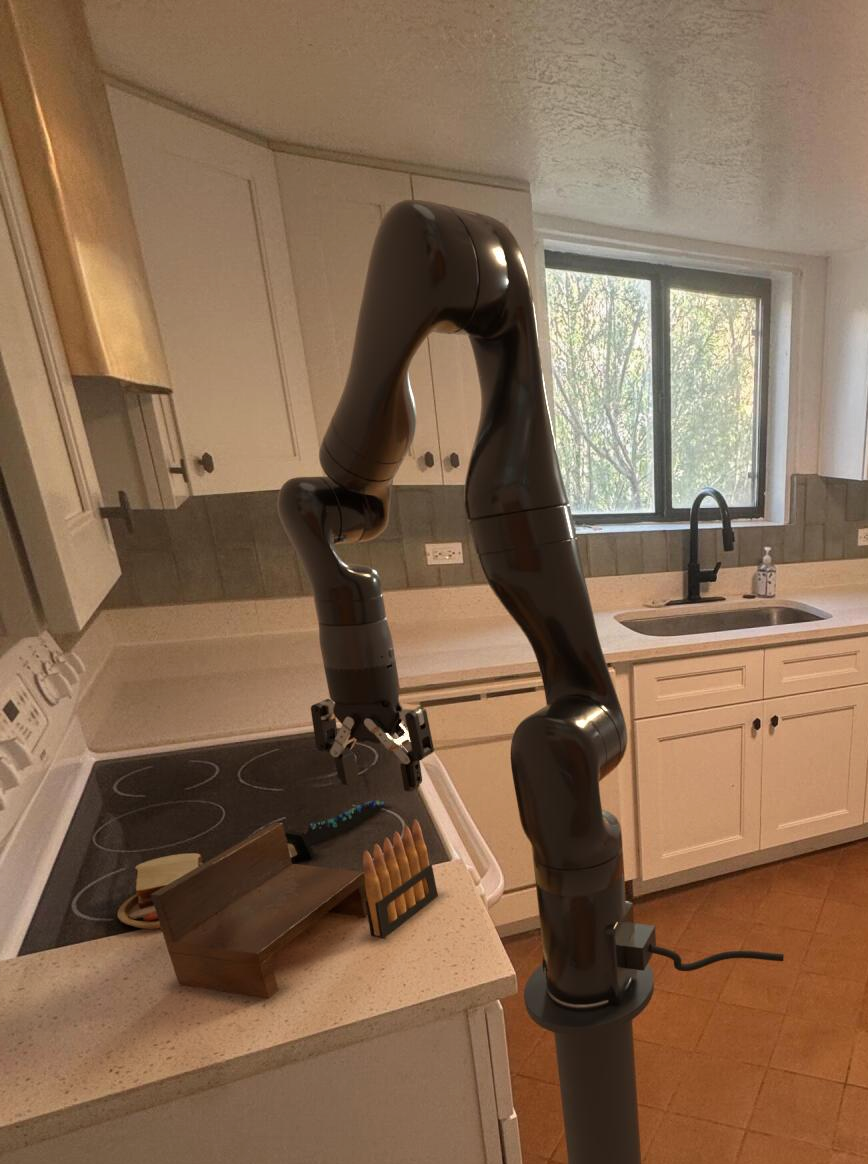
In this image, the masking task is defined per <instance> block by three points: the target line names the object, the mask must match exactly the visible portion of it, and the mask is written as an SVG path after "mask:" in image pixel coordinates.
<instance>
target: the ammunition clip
mask: <svg viewBox="0 0 868 1164" xmlns="http://www.w3.org/2000/svg"><path fill="white" fill-rule="evenodd" d="M402 831H403V832H402V836H401V835H400V833H399V832H398V831H394V833H393V840H392V841H393V845H392V842H391V840H390V839H389V837H384V841H383V851H382V849H381V846H380V845H379V844H378V843H375V844H374V846H373V858H372V856H371V854H370V852H369V850H367V849H365V850H364V851H363V855H362V866H363V872H364V875H365V888H366V894H367V900H366V901H365V903H366V909H367V920H368V921H367V922H368V927H369V932H370V933H369V934H370V937H374V938H379V939H385V938H387V937H388V936H389V935H391V934H392V933H393V932H395V930H397V929H398V928H399V927H400V926H402V925H404V923H405V922H407V921H409V920H410V919H411V918H412V917H414V916H415V915H416V914H417V913H419V912H420V911H421V910H423V908H425V907H426V906H427V905H429V904H430V903H432V902H433V901H434V900H435V899H436V898H438V897H439V894H438V888H437V884H436V878H435V872H434V869H433V864H432V863H430V860H429V856H428V855H429V854H428V849H427V846H426V843H425V839H424V836H423V831H422V828H421V825H420V823H419V821H418V820H417V818H415V819H414V820H413V822H412V831H411V829H410V827H409V826H408V825H407V824H405V825H404V827H403V830H402Z"/></svg>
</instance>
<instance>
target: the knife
mask: <svg viewBox="0 0 868 1164" xmlns="http://www.w3.org/2000/svg"><path fill="white" fill-rule="evenodd" d="M386 804H387V802H386V801H385V800H381V799H380V800H379V799H375V800H369V801H366V802H363V803H361V804H358V805H356V806H354V807H352V808H351V809H348V810H347V811H345V812H343V813H341V814H339V815H336V816H335V817H332V818H330V819H326V820H324V821H318V822H309V823H308V829H307V831H306V833H304V832H301V831H294V830H288V831H285V836H286V840H287V844H288V849H289V853H290V857H291V859H292V858H294V857H296V858H302V859H309V860H312V858H314V856H315V854H314V852H313V849H312V847H314V846H317V845H319V844H321V843H323V842H327V841H328V840H330V839H332V838H334V837H337V836H339V835H340V834H342V833H344V832H346V831H348V830H350V829H352V828H354V827H357V825H360V824H361V823H363V822H364V821H366V820H368V819H370V818H371V817H372V816H374V815H376V814H377V813H378V812H379V811H381V810H382V809H383V808H384V807H385V806H386Z"/></svg>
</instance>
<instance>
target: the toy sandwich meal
mask: <svg viewBox="0 0 868 1164" xmlns="http://www.w3.org/2000/svg"><path fill="white" fill-rule="evenodd" d="M202 861H203V859H202V855H201V854H200V853H198V852H197V853H195V852H193V853H191V852H190V853H178V854H171V855H166V856H162V857H161V856H160V857H157V858H153V859H150V860H147V861H144V862H142V863H139V864H137V865H136V866H135V867H134V869H135V873H136V879H135V880H134V885H135V894H134V895H132V896H130V897H129V898H128V899H127V900H126V899H125V901H124V902H123V903H122V904H121V905H120V907H119V908H118V909H117V910H118V911H117V918H118V920H119V921H120V922H121V923H123V924H125V925H127V926H133V927H134V928H138V929H144V930H145V929H146V930H147V929H150V930H151V929H161V926H160V923H159V920H158V916H157V913H156V910H155V907H154V904H153V900H152V897H151V894H152V893H154V892H156V891H157V890H159V889H161V888H163V887H164V886H166V885H168V884H170V883H171V882H173V881H175V880H176V879H178V878H180V877H182V876H183V875H185V874H187V873H188V872H190V871H192V870H194V869H195V868H197V867H199V866H201V863H202Z"/></svg>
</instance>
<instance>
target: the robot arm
mask: <svg viewBox="0 0 868 1164" xmlns="http://www.w3.org/2000/svg"><path fill="white" fill-rule="evenodd" d="M359 307H360V308H359V310H358V311H359V312H358V317H357V318H358V319H357V323H356V324H357V325H356V330H355V334H354V335H355V336H354V341H353V347H352V353H351V359H350V363H349V369H348V372H347V375H346V379H345V380H346V381H345V384H344V387H343V389H342V392H341V394H340V397H339V401H338V403H337V405H336V408H335V410H334V412H333V415H332V416H331V419H330V422H329V424H328V426H327V428H326V431H325V433H324V436H323V438H322V441H321V443H320V447H319V452H318V458H319V459H318V460H319V464H320V467H321V469H322V471H323V472H324V474H325V475H326V476H298V477H292V478H289V479H288V480H286V481H285V482H284V483H283V484H282V486H281V487H280V489H279V492H278V495H277V502H276V507H277V514H278V517H279V521H280V523H281V526H282V528H283V531H284V532H285V534H286V536H287V538H288V540H289V542H290V543H291V545H292V547H293V549H294V552H295V553H296V555H297V558H298V559H299V562H300V564H301V566H302V568H303V570H304V572H305V575H306V578H307V580H308V582H309V585H310V588H311V590H312V596H313V602H314V607H315V613H316V618H317V621H318V623H317V624H318V637H319V638H318V639H319V647H320V652H321V657H322V663H323V668H324V674H325V679H326V683H327V685H326V686H327V690H328V695H329V698H326V699H324V700H321V701H319V702H316V703H314V704H312V705H311V706H310V714H311V720H312V726H313V733H314V734H313V735H314V741H315V748H316V750H318V751H319V752H324V751H325V752H328V753H330V755H331V756H332V757H333V758H334V763H335V768H336V774H337V777H338V779H339V780H340V782H341V784H342V785H344V786H350V785H353V784H354V783H356V782H357V781H358V780H359V772H358V767H357V762H356V761H357V760H356V757H355V755H356V754H355V752H354V751H351V750H353V748H354V746H355V745H356V743H357V742H360V743H365V742H371V743H373V744H382V745H383V746H384V747H385V749H386V750H387V751H391V752H392V753H394V755H395V756H396V757H397V758H398V760H399V761H400V762H401V763H400V764H399V766H400V773H401V778H402V779H401V780H402V784H403V790H404V792H409V793H412V792H413V791H415V790H417V789H418V788H419V787H420V785H421V784H422V782H423V775H422V768H421V762H420V761H422V760H424V759H425V758H426V757H428V756H429V755H432V754H433V753H434V752H435V747H434V742H433V738H432V733H431V728H430V727H431V726H430V723H429V718H428V713H427V712H428V711H427V709H426V708H425V707H423V706H418V707H416V708H414V709H413V708H412V709H409V708H408V709H406V708H403V707H402V705H401V704H400V703H401V702H400V699H399V698H400V693H401V687H400V680H399V674H398V667H397V661H396V655H395V647H394V642H393V636H392V632H391V628H390V626H389V623H388V619H387V618H388V617H387V613H386V606H385V600H384V599H385V598H384V594H383V586H382V581H381V577H380V575H379V573H378V571H377V570H376V569H374V568H373V567H371V566H369V565H364V564H357V563H346V562H343V560H342V559H341V558H340V557H339V555H338V554H337V552H336V551H335V548H334V545H342V544H353V543H354V544H355V543H363V542H368V541H372V540H374V539H376V538H377V537H379V536H380V535H382V533H383V532H384V531H385V530H386V529H387V527H388V524H389V521H390V513H391V512H390V511H391V499H392V492H393V485H394V478H395V476H396V475H397V473H398V471H399V469H400V468H401V466H402V463H404V460H405V458H406V456H407V455H408V452H409V450H410V448H411V446H412V444H413V442H414V438H415V434H416V429H417V422H418V421H417V420H418V418H417V408H416V403H415V397H414V394H413V391H412V386H411V382H410V373H409V372H410V367H411V364H412V361H413V359H414V357H415V355H416V353H417V352H418V351H419V349H420V347H421V346H422V344H423V343H424V341H425V340H426V339H427V338H428V337H429V336H430V335H431V334H432V333H439V334H448V335H457V336H467V337H468V339H469V343H470V345H471V349H472V353H473V357H474V361H475V366H476V371H477V377H478V378H477V379H478V383H479V388H480V389H479V390H480V415H479V421H478V427H477V430H476V434H475V438H474V442H473V446H472V449H471V452H470V457H469V461H468V466H467V471H466V475H465V480H464V487H463V488H464V489H463V502H464V503H463V504H464V509H465V514H466V518H467V522H468V527H469V530H470V534H471V538H472V542H473V546H474V550H475V554H476V557H477V560H478V563H479V566H480V569H481V572H482V575H483V577H484V579H485V581H486V583H487V585H488V586H489V588H490V589H491V591H492V592H493V594H494V595H495V597H496V598H497V600H498V601H499V603H500V604H501V605H502V606H503V608H504V609H505V611H506V612H507V613H508V615H510V617H511V618H512V620H513V621H514V622H515V624H516V625H517V626H518V627H519V629H520V631H521V632H522V633H523V635H524V636H525V637H526V639H527V641H528V643H529V644H530V647H531V649H532V651H533V653H534V656H535V659H536V662H537V665H538V669H539V672H540V673H539V674H540V676H541V681H542V686H543V692H544V696H545V697H544V698H545V703H546V704H545V706H543V707H542V708H540V709H538V710H537V711H535V712H533V713H531V714H530V715H528V716H527V717H525V718H524V719H522V720H521V722H519V724H517V726H516V728H515V729H514V732H513V734H512V737H511V743H510V766H511V774H512V781H513V786H514V792H515V798H516V803H517V804H516V805H517V809H518V816H519V821H520V824H521V827H522V830H523V833H524V834H525V836H526V838H527V840H528V841H529V843H530V846H531V852H532V863H533V870H534V871H533V872H534V879H535V880H534V881H535V890H536V898H537V908H538V917H539V925H540V934H541V942H542V943H541V944H542V953H543V956H542V964H543V972H544V968H545V970H546V973H545V974H546V979H547V980H546V988H547V994H548V996H549V998H550V1000H551V1001H552V1002H553V1003H555V1004H556V1005H558V1006H559V1007H562V1008H564V1009H568V1010H573V1011H590V1010H596V1009H600V1008H603V1007H606V1006H619V1005H620V1004H621V1002H622V1000H623V998H624V996H625V995H626V993H627V991H628V990H629V988H630V986H631V983H632V982H633V980H634V978H635V976H636V974H637V970H642V971H644V970H645V968H646V966H647V964H649V962H650V960H651V959H652V956H653V954H655V955H659V956H663V957H666V958H669V959H671V960H672V961H673V966H674V969H676V970H677V971H679V972H693V971H695V970H699V969H701V968H705V967H706V966H708V965H711V964H714V963H718V962H721V961H723V960H730V959H752V960H762V961H763V960H764V961H773V962H784V953H774V952H765V951H757V950H756V951H754V950H729V951H724V952H719V953H715V954H713V955H710V956H707V957H705V958H702V959H699V960H697V961H693V962H689V963H688V962H687V963H683V962H682V958H681V956H680V954H679V953H677V952H676V951H674V950H672V949H668V948H665V947H661V946H659V945H658V946H657V940H656V939H657V936H656V925H651V924H643V923H635V915H634V903H633V902H632V901H629V900H627V896H626V895H627V894H626V881H625V880H626V879H625V863H624V850H623V848H624V847H623V831H622V825H621V822H620V820H619V819H618V817H617V816H616V815H614V814H613V813H612V812H610V811H607V810H604V809H603V808H602V801H601V792H600V783H601V781H602V780H604V779H605V778H606V777H608V776H609V775H610V774H611V773H612V772H613V771H614V770H615V769H616V768H618V766H619V765H620V763H621V762H622V761H623V759H624V757H625V755H626V752H627V748H628V729H627V724H626V720H625V716H624V713H623V710H622V707H621V702H620V700H619V697H618V693H617V691H616V688H615V685H614V683H613V679H612V676H611V673H610V671H609V667H608V664H607V662H606V658H605V655H604V651H603V649H602V645H601V642H600V639H599V633H598V630H597V625H596V619H595V616H594V611H593V607H592V602H591V598H590V594H589V590H588V585H587V582H586V578H585V574H584V569H583V564H582V560H581V559H582V558H581V553H580V547H579V542H578V538H577V537H578V536H577V533H576V528H575V523H574V519H573V514H572V509H571V505H570V500H569V498H568V493H567V489H566V485H565V482H564V478H563V474H562V470H561V465H560V461H559V455H558V451H557V446H556V441H555V435H554V430H553V425H552V420H551V415H550V409H549V406H548V399H547V394H546V388H545V381H544V374H543V367H542V360H541V351H540V343H539V335H538V326H537V319H536V313H535V311H536V310H535V305H534V297H533V290H532V286H531V279H530V275H529V271H528V266H527V262H526V260H525V256H524V254H523V252H522V249H521V246H520V244H519V242H518V241H517V238H516V237H515V236H514V234H513V233H512V231H511V230H510V229H509V228H508V227H507V226H506V225H505V224H504V223H503V222H502V221H500V220H498V219H497V218H495V217H492V216H490V215H487V214H484V213H479V212H476V211H473V210H468V209H463V208H459V207H455V206H450V205H447V204H441V203H437V202H433V201H429V200H428V201H426V200H423V199H421V200H420V199H403V200H401V201H399V202H396V203H394V204H393V205H392V206H391V207H390V208H389V209H388V210H387V212H386V213H385V215H384V216H383V218H382V220H381V222H380V224H379V226H378V229H377V232H376V235H375V238H374V241H373V244H372V248H371V252H370V257H369V260H368V266H367V270H366V277H365V281H364V287H363V292H362V297H361V303H360V306H359ZM336 719H337V720H338V722H339V723H340V724H341V727H340V729H339V731H338V728H337V727H338V726H337V720H336ZM402 721H403V723H402ZM395 734H396V736H397V738H393V737H394V736H395Z"/></svg>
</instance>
